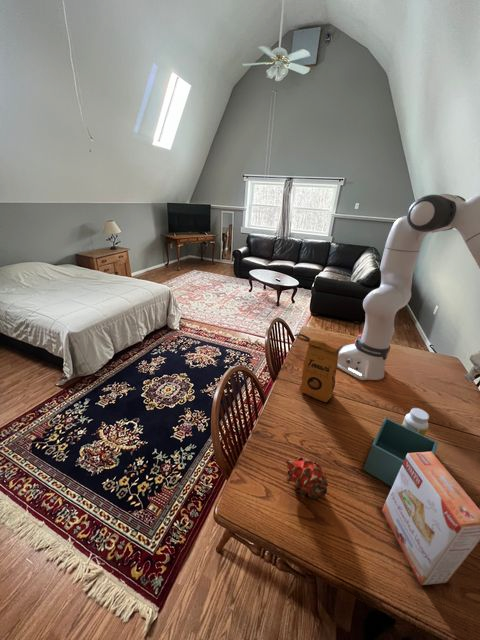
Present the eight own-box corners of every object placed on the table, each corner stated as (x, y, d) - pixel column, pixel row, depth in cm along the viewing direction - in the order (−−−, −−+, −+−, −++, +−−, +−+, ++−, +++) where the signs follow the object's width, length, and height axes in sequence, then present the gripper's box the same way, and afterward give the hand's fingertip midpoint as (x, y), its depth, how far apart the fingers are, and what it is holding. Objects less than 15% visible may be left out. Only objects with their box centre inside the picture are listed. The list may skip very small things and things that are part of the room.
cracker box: (379, 510, 65) (405, 451, 56) (402, 509, 65) (432, 449, 57) (419, 587, 52) (461, 526, 43) (447, 584, 53) (495, 523, 44)
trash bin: (363, 469, 75) (372, 444, 70) (376, 440, 84) (385, 417, 80) (417, 502, 67) (430, 476, 63) (425, 466, 76) (437, 442, 72)
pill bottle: (417, 435, 87) (429, 409, 82) (422, 450, 81) (435, 423, 77) (396, 429, 88) (406, 403, 84) (399, 444, 83) (410, 417, 78)
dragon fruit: (323, 512, 65) (285, 481, 74) (339, 479, 68) (301, 453, 77) (312, 506, 60) (273, 473, 69) (330, 471, 63) (290, 443, 71)
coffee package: (326, 407, 96) (338, 355, 87) (295, 392, 103) (303, 343, 93) (335, 393, 103) (348, 344, 94) (306, 380, 110) (314, 333, 101)
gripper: (495, 336, 79) (449, 361, 84) (567, 378, 61) (502, 408, 65) (504, 350, 81) (458, 374, 85) (576, 395, 62) (513, 423, 67)
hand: (478, 389), depth 75 cm, fingers open, 8 cm apart
